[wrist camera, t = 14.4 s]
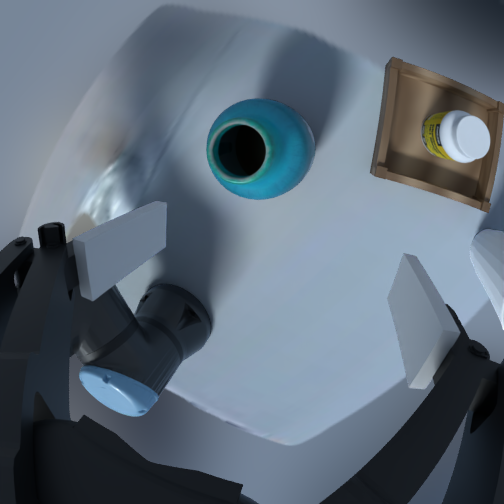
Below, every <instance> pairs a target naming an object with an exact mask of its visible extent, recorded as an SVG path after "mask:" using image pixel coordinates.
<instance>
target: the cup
mask: <svg viewBox="0 0 504 504" xmlns="http://www.w3.org/2000/svg"><path fill="white" fill-rule="evenodd" d="M470 259H471V262H472V264H473V265H474V269H475V271H476V274H477V275H478V277H479V279H480V281H481V283H482V285H483V286H484V288H485V290H486V292H487V294H488V296H489V298H490V300H491V302H492V304H493V306H494V308H495V311H496V313H497V315H498V317H499V319H500V322H501V324H502V328H503V330H504V232H502V231H499V230H493V229H484V230H482V231H480V232H479V233H478V234H477V235H476V236H475V238H474V239H473V241H472V243H471V247H470Z"/></svg>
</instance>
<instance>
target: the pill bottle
mask: <svg viewBox="0 0 504 504" xmlns="http://www.w3.org/2000/svg"><path fill="white" fill-rule="evenodd" d="M421 139H422V142H423V144H424V146H425V148H426V149H427V150H428V151H429V152H430V153H431V154H433V155H435V156H437V157H440V158H444V159H448V160H452V161H456V162H461V163H468V162H472V161H474V160H475V159H480V158H482V157H484V156H485V155H486V154H487V152H488V150H489V147H490V134H489V131H488V129H487V127H486V125H485V124H484V122H483V121H482V120H481V119H479V118H478V117H476V116H472V115H470V114H469V113H467V112H464V111H460V110H455V111H448V112H442V113H436V114H432V115H430V116H428V117H427V118H426V119H425V120H424V121H423V123H422V126H421Z"/></svg>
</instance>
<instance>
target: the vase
mask: <svg viewBox="0 0 504 504" xmlns="http://www.w3.org/2000/svg"><path fill="white" fill-rule="evenodd" d="M206 151H207V159H208V163H209V166H210V168H211V171H212V173H213V174H214V176H215V177H216V179H217V180H218V181H219V182H220V184H221V185H223V186H224V187H225V188H226V189H227V190H229V191H230V192H232V193H234V194H236V195H238V196H240V197H244V198H247V199H255V200H261V199H269V198H274V197H277V196H280V195H282V194H284V193H286V192H288V191H290V190H291V189H293V188H294V187H295V186H297V185H298V184H299V183H300V182H301V181H302V180H303V179H304V177H305V176H306V175H307V173H308V172H309V170H310V168H311V166H312V164H313V160H314V156H315V140H314V136H313V133H312V131H311V128H310V127H309V125H308V124H307V122H306V121H305V120H304V118H303V117H302V116H301V115H300V114H299V113H297V112H296V111H295V110H294V109H292V108H290V107H289V106H287V105H285V104H283V103H280V102H278V101H274V100H270V99H259V98H256V99H247V100H244V101H240V102H238V103H236V104H234V105H232V106H230V107H229V108H227V109H226V110H224V111H223V112H222V113H221V114H220V115H219V116H218V118H217V119H216V120H215V122H214V123H213V125H212V127H211V129H210V132H209V135H208V139H207V148H206Z"/></svg>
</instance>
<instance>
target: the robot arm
mask: <svg viewBox="0 0 504 504" xmlns="http://www.w3.org/2000/svg"><path fill="white" fill-rule="evenodd" d="M166 219H167V203H166V202H160V201H154V202H152V203H149V204H147V205H145V206H142V207H140V208H137V209H135V210H133V211H131V212H128V213H126V214H124V215H121V216H119V217H117V218H115V219H113V220H110V221H108V222H106V223H104V224H102V225H100V226H97V227H95V228H93V229H91V230H89V231H87V232H85V233H83V234H81V235H79V236H77V237H75V238H73V240H72V241H71V242H69V243H67V244H66V236H65V227H64V224H63V223H60V222H53V223H47V224H44V225H42V226H40V227H39V228H38V235H39V241H40V248H39V249H38V248H33V242H32V238H30V237H19V238H17V239H15V240H13V241H12V242H10V243H9V244H8V245H7V246H6V247H5V248H4V249H3V250H1V251H0V504H258V503H257V502H255V501H254V500H252V499H251V498H249V497H247V496H245V495H243V494H241V490H242V487H243V484H239V483H235V482H232V481H228V480H225V479H222V478H218V477H215V476H212V475H209V474H206V473H203V472H200V471H196V470H189V469H183V468H177V467H171V466H166V465H161V464H156V463H152V462H150V461H148V460H146V459H145V458H143V457H142V456H141V455H140V454H139V453H137V452H136V451H135V450H134V449H133V448H131V447H130V446H129V445H128V444H127V443H126V442H124V441H123V440H122V439H121V438H120V437H119V436H118V435H117V434H115V433H114V432H112V431H110V430H109V429H107V428H105V427H103V426H102V425H100V424H98V423H97V422H95V421H93V420H92V419H90V418H89V417H87V416H85V415H83V417H82V418H81V419H80V420H79V421H78V422H74V421H71V419H70V413H69V358H70V357H71V356H72V355H73V354H76V356H77V357H78V358H79V360H80V361H81V362H82V364H83V365H84V366H83V367H82V368H81V370H80V373H79V377H80V380H81V381H82V384H83V386H84V387H85V388H86V389H87V390H88V391H89V393H90V394H91V395H92V396H94V397H95V398H96V399H97V400H98V401H100V402H101V403H103V404H104V405H106V406H107V407H109V408H111V409H113V410H114V411H117V412H119V413H121V414H124V415H128V416H141V415H144V414H145V413H146V412H147V411H148V410H149V409H150V408H151V407H152V406H153V404H154V403H155V402H156V401H157V400H158V399H159V396H160V394H161V393H162V391H163V390H164V388H165V387H166V385H167V384H168V382H169V381H170V379H171V378H172V376H173V374H174V373H175V371H176V370H177V368H178V367H179V365H180V364H181V362H182V361H183V360H185V359H187V358H188V357H190V356H191V355H193V354H194V353H195V352H197V351H199V350H200V349H201V348H202V347H203V346H204V345H205V343H206V341H207V340H208V338H209V336H210V332H211V323H210V319H209V316H208V314H207V312H206V310H205V308H204V307H203V306H202V304H201V303H200V302H199V301H198V300H197V299H196V298H195V297H194V296H193V295H192V294H190V293H189V292H187V291H186V290H184V289H182V288H180V287H177V286H174V285H169V284H161V285H157V286H154V287H153V288H151V289H150V290H149V291H148V292H147V293H145V294H144V295H143V297H142V298H141V300H140V302H139V304H138V307H137V309H136V311H135V314H133V313H132V311H131V310H130V308H129V307H128V305H127V303H126V302H125V300H124V298H123V297H122V295H121V294H120V292H119V290H118V289H117V287H116V285H115V284H116V283H118V282H119V281H120V280H122V279H123V278H124V277H126V276H127V275H128V274H130V273H131V272H132V271H134V270H135V269H136V268H138V267H139V266H140V265H142V264H143V263H144V262H146V261H147V260H149V259H150V258H151V257H153V256H154V255H156V254H157V253H158V252H160V251H161V250H163V249H164V248H165V247H166ZM14 274H15V276H16V280H17V286H15V283H14ZM387 299H388V303H389V306H390V310H391V313H392V317H393V321H394V325H395V329H396V332H397V337H398V341H399V345H400V349H401V353H402V358H403V363H404V367H405V372H406V377H407V382H408V387H409V388H417V389H425V388H426V387H427V386H428V384H429V383H430V381H431V380H432V378H433V380H434V384H435V386H434V388H433V389H432V390H431V392H430V393H429V394H428V396H427V397H426V398H425V400H424V401H423V402H422V404H421V405H420V406H419V407H418V409H417V410H416V411H415V412H414V414H413V415H412V416H411V417H410V418H409V420H408V421H407V422H406V423H405V424H404V426H403V427H402V428H401V429H400V430H399V431H398V432H397V433H396V434H395V436H394V437H393V438H392V439H391V440H390V441H389V442H388V443H387V444H386V445H385V446H384V447H383V448H382V449H381V450H380V451H379V452H378V453H377V454H376V455H375V456H374V457H373V458H372V459H371V460H370V461H369V462H368V463H367V464H366V465H365V466H364V467H363V468H362V469H361V470H359V471H358V472H357V473H356V474H355V475H354V476H353V477H352V478H350V479H349V480H348V481H347V482H346V483H345V484H343V485H342V486H341V487H340V488H339V489H337V490H336V491H335V492H334V493H332V494H331V495H330V496H329V497H327V498H326V499H325V500H323V501H322V502H321V503H320V504H407V503H408V502H409V501H410V500H411V499H412V497H413V496H414V495H415V494H416V492H417V491H418V490H419V488H420V487H421V486H422V484H423V483H424V482H425V480H426V479H427V477H428V476H429V475H430V473H431V472H432V470H433V469H434V468H435V466H436V464H437V463H438V462H439V460H440V459H441V457H442V455H443V454H444V452H445V451H446V449H447V447H448V446H449V444H450V442H451V441H452V439H453V437H454V435H455V434H456V432H457V430H458V428H459V426H460V425H461V422H462V421H463V419H464V417H465V415H466V413H467V411H468V413H467V418H466V423H465V428H464V433H463V438H462V442H461V446H460V450H459V454H458V457H457V461H456V464H455V468H454V471H453V475H452V477H451V480H450V483H449V486H448V489H447V492H446V494H445V497H444V500H443V502H442V504H504V359H503V361H502V362H501V364H498V363H496V362H493V361H491V360H490V355H489V352H488V351H487V349H486V348H485V347H484V346H483V345H482V344H480V343H479V342H477V341H475V340H471V339H469V337H468V335H467V333H466V331H465V329H464V327H463V326H462V325H461V322H460V320H458V317H457V315H456V313H455V311H454V310H453V309H452V308H451V307H450V306H449V305H448V304H445V303H444V301H443V299H442V298H441V296H440V294H439V292H438V291H437V289H436V287H435V286H434V284H433V282H432V281H431V279H430V277H429V276H428V274H427V273H426V271H425V269H424V268H423V266H422V265H421V263H420V261H419V260H418V258H417V257H416V256H413V255H409V254H405V253H403V256H402V259H401V262H400V265H399V268H398V271H397V274H396V277H395V279H394V282H393V285H392V288H391V290H390V293H389V295H388V298H387Z"/></svg>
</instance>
